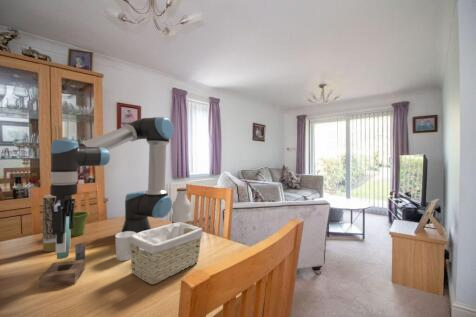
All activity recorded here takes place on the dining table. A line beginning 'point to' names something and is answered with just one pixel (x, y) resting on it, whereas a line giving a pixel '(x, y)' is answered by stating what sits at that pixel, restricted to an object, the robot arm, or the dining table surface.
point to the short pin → (80, 251)
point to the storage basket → (164, 251)
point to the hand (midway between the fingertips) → (63, 249)
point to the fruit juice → (181, 208)
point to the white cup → (123, 245)
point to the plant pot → (79, 223)
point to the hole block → (62, 274)
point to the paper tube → (48, 224)
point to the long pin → (66, 254)
